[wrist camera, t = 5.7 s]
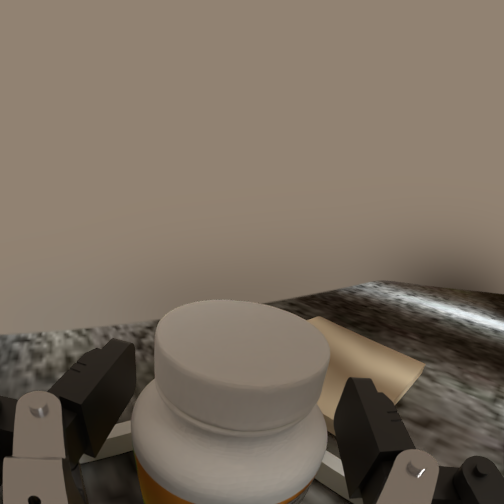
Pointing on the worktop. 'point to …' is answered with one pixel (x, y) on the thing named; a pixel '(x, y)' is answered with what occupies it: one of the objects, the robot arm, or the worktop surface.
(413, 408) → the worktop surface
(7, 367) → the worktop surface
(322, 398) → the pad
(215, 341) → the supplement bottle
